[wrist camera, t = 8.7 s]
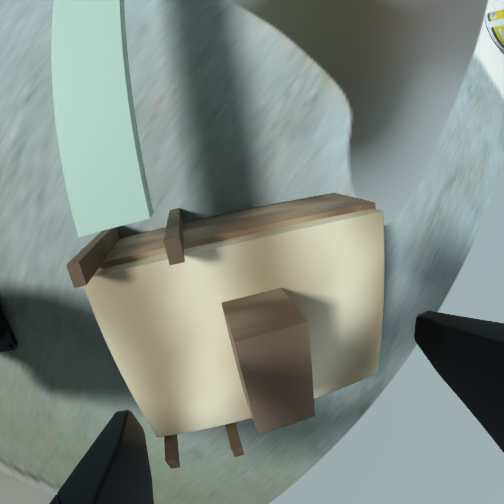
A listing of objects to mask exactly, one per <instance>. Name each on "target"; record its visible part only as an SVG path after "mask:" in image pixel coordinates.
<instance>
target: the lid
mask: <svg viewBox="0 0 504 504" xmlns="http://www.w3.org/2000/svg"><path fill="white" fill-rule="evenodd" d="M184 257H185V262H183V263H179V264H174V265H170V264H169V260H168V257H167V253H166V254H162V255H157V256H153V257H149V258H145V259H141V260H136V261H132V262H128V263H124V264H120V265H116V266H112V267H107V268H103V269H99V270H97V271H96V272H95V274H94V275H93V277H92V278H91V279H90V281H89V282H88V284H87V285H85V286H84V289H85V292H86V294H87V297H88V300H89V302H90V305H91V307H92V310H93V313H94V315H95V317H96V320H97V322H98V325H99V327H100V329H101V332H102V334H103V336H104V339H105V341H106V343H107V345H108V348H109V350H110V352H111V354H112V356H113V358H114V360H115V362H116V365H117V367H118V369H119V371H120V373H121V375H122V377H123V379H124V380H125V382H126V384H127V386H128V388H129V390H130V392H131V394H132V395H133V397H134V399H135V401H136V403H137V404H138V406H139V408H140V410H141V411H142V413H143V415H144V417H145V418H146V420H147V422H148V423H149V425H150V427H151V428H152V430H153V431H154V433H155V435H156V436H157V437H163V436H169V435H175V434H181V433H187V432H193V431H198V430H203V429H208V428H212V427H217V426H221V425H226V424H230V423H234V422H238V421H242V420H246V419H250V418H253V421H254V424H255V426H256V429H257V432H258V434H259V433H263V432H266V431H270V430H273V429H276V428H280V427H283V426H286V425H289V424H292V423H295V422H298V421H301V420H304V419H307V418H310V417H313V416H315V414H314V398H317V397H320V396H322V395H325V394H328V393H330V392H333V391H336V390H338V389H341V388H343V387H346V386H348V385H351V384H353V383H355V382H358V381H360V380H362V379H365V378H367V377H369V376H372V375H374V374H376V373H378V368H379V359H380V349H381V337H382V323H383V304H384V222H383V211H380V210H376V209H373V208H372V209H367V210H362V211H357V212H353V213H348V214H343V215H338V216H333V217H328V218H324V219H319V220H314V221H309V222H305V223H300V224H295V225H291V226H286V227H281V228H277V229H272V230H268V231H263V232H259V233H254V234H249V235H245V236H240V237H236V238H231V239H227V240H223V241H218V242H214V243H209V244H205V245H201V246H196V247H192V248H188V249H184Z"/></svg>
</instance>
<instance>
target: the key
mask: <svg viewBox="0 0 504 504" xmlns="http://www.w3.org/2000/svg"><path fill="white" fill-rule="evenodd" d="M51 55H52V86H53V100H54V111H55V121H56V129H57V137H58V144H59V151H60V157H61V163H62V168H63V174H64V179H65V184H66V189H67V193H68V198H69V202H70V207H71V211H72V215H73V219H74V223H75V227H76V230H77V234H78V237H82V236H85V235H89V234H92V233H96V232H100V231H104V230H107V229H111V228H115V227H119V226H123V225H127V224H130V223H134V222H138V221H142V220H147V219H150V218H151V216H152V214H153V208H152V203H151V199H150V194H149V189H148V185H147V180H146V175H145V170H144V164H143V159H142V154H141V148H140V142H139V136H138V130H137V124H136V118H135V111H134V104H133V97H132V89H131V81H130V73H129V63H128V53H127V42H126V29H125V13H124V0H54V4H53V17H52V47H51Z"/></svg>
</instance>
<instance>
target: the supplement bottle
mask: <svg viewBox="0 0 504 504" xmlns="http://www.w3.org/2000/svg"><path fill="white" fill-rule="evenodd" d="M485 23H486V26H487V29H488V31H489V33H490V35H491V37H492V39H493V41H494V42H495V43H496V44H497V46H498V47H500V48H501V49H504V10H500V11H496V12H492V13H488V14H486V15H485Z"/></svg>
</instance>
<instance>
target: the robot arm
mask: <svg viewBox="0 0 504 504" xmlns="http://www.w3.org/2000/svg"><path fill="white" fill-rule="evenodd" d="M414 337H415V341H416V343H417V344H418V346H419V347H420V348H421V350H422V351H423V353H424V354H425V355H426V357H427V358H428V360H429V361H430V362H431V364H432V365H433V367H434V368H435V369H436V371H437V372H438V373H439V375H440V376H441V377H442V378H443V379H444V381H445V382H446V383H447V384H448V385H449V386H450V388H452V390H453V391H454V392H455V393H456V394H457V396H458V397H459V398H460V399H461V400H462V401H463V403H464V404H465V405H466V406H467V408H468V409H469V410H470V411H471V412H472V414H473V415H474V416H475V417H476V418H477V420H478V421H479V422H480V423H481V425H482V426H483V427H484V428H485V430H486V431H487V432H488V433H489V435H490V436H491V437H492V438H493V440H494V441H495V442H496V443H497V445H498V446H499V447H500V449H502V451H503V452H504V324H503V323H498V322H491V321H485V320H479V319H473V318H467V317H461V316H455V315H450V314H444V313H438V312H433V311H425V312H423V313H421V314H419V315H418V316H417V318H416V324H415V334H414ZM11 343H12V344H13V345H12V344H11ZM16 347H17V342H16V340H15V338H14V336H13V334H12V332H11V329H10V327H9V325H8V323H7V321H6V319H5V316H4V314H3V312H2V310H1V307H0V352H4V351H11V350H15V349H16ZM57 494H58V495H55V497H54V498H53V500H52V501H51V503H50V504H154V501H153V488H152V477H151V470H150V465H149V459H148V453H147V447H146V440H145V433H144V430H143V428H142V426H141V425H140V423H139V422H138V420H137V419H136V418H135V416H134V415H133V413H132V412H131V411H130V410H124V411H118V412H116V413H115V414H114V416H113V417H112V418H111V420H110V421H109V422H108V424H107V425H106V427H105V428H104V429H103V431H102V432H101V433H100V435H99V436H98V437H97V439H96V440H95V442H94V443H93V444H92V446H91V447H90V448H89V450H88V451H87V453H86V454H85V455H84V457H83V458H82V459H81V461H80V462H79V464H78V465H77V466H76V468H75V469H74V470H73V472H72V473H71V475H70V476H69V477H68V479H67V480H66V482H65V483H64V484H63V486H62V487H61V489H60V490H59V491H58V493H57Z"/></svg>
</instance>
